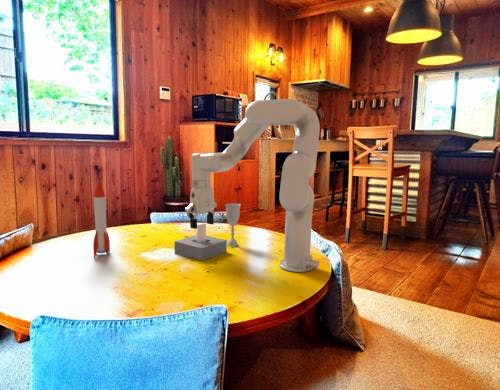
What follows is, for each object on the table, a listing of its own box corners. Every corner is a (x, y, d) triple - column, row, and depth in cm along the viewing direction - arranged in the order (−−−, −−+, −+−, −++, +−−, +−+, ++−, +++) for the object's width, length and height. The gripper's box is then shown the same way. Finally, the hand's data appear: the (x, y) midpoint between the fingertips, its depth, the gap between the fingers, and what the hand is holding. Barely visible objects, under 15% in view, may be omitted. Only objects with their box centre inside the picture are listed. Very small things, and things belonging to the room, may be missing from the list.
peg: (207, 252, 153) (208, 223, 151) (201, 254, 150) (201, 225, 148) (200, 250, 155) (200, 222, 154) (193, 252, 152) (193, 224, 150)
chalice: (233, 248, 160) (233, 207, 157) (221, 245, 164) (221, 205, 161) (243, 244, 165) (244, 204, 163) (231, 241, 169) (232, 202, 167)
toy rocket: (93, 257, 144) (89, 180, 139) (95, 253, 149) (91, 178, 144) (109, 256, 145) (105, 180, 140) (110, 252, 150) (106, 178, 146)
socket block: (226, 251, 154) (226, 240, 154) (201, 260, 142) (201, 248, 142) (200, 245, 163) (200, 234, 162) (174, 253, 151) (174, 241, 150)
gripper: (192, 186, 139) (193, 231, 142) (222, 182, 153) (223, 223, 156) (178, 185, 144) (180, 228, 146) (208, 181, 157) (209, 221, 160)
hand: (202, 226), depth 151 cm, fingers open, 9 cm apart
